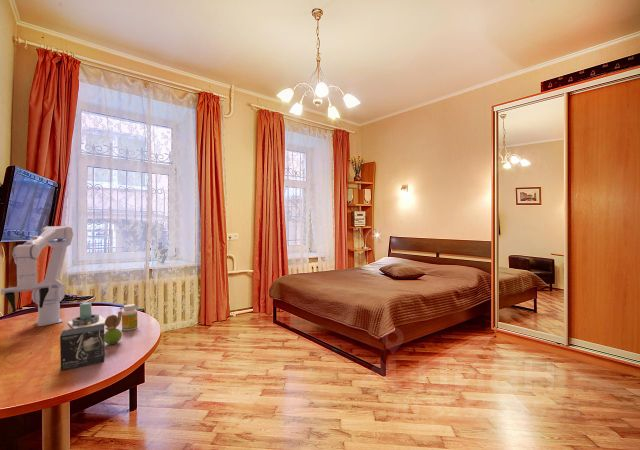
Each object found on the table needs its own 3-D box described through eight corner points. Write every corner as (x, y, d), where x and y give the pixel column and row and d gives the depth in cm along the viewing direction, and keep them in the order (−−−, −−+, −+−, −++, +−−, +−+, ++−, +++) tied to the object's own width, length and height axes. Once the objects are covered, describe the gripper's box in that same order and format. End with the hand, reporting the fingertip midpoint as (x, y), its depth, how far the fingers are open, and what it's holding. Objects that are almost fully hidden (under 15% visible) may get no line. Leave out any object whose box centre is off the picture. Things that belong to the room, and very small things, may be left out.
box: (59, 371, 90) (59, 336, 90) (63, 363, 95) (62, 329, 95) (104, 362, 96) (103, 328, 96) (105, 355, 101) (104, 323, 101)
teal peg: (81, 324, 130) (81, 305, 130) (78, 322, 134) (78, 303, 134) (93, 322, 133) (92, 303, 133) (90, 319, 137) (89, 301, 137)
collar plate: (67, 323, 135) (67, 317, 135) (100, 316, 144) (100, 310, 144) (75, 330, 125) (75, 324, 125) (110, 323, 134) (110, 316, 134)
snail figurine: (127, 340, 113) (127, 308, 113) (111, 347, 107) (110, 313, 107) (117, 339, 115) (116, 307, 115) (99, 345, 109) (99, 311, 109)
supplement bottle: (130, 331, 123) (129, 307, 123) (118, 330, 124) (118, 306, 124) (140, 327, 129) (140, 303, 128) (129, 326, 130) (129, 303, 130)
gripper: (1, 278, 114) (2, 315, 114) (52, 273, 125) (53, 307, 125) (0, 276, 118) (0, 312, 118) (49, 271, 129) (50, 304, 129)
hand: (27, 309), depth 122 cm, fingers open, 7 cm apart
